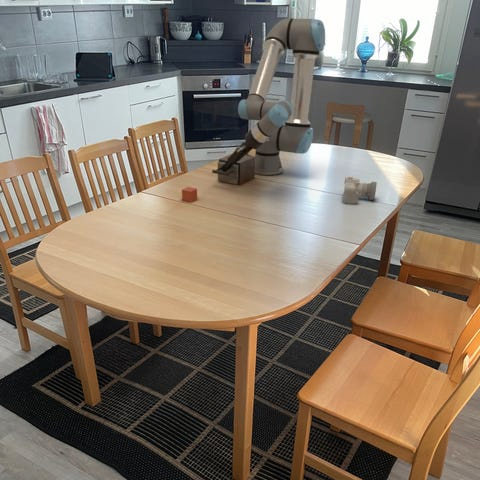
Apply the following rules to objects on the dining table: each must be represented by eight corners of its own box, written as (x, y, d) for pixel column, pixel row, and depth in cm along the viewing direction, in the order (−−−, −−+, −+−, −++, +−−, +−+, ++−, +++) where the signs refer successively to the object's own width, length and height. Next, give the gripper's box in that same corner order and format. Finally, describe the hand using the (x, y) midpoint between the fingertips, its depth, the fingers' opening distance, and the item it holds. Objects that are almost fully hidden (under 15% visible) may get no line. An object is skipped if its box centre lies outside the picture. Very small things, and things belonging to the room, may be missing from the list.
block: (182, 200, 204) (181, 189, 202) (188, 197, 207) (188, 186, 205) (190, 202, 202) (190, 191, 200) (197, 199, 206) (196, 188, 203)
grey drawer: (229, 187, 217) (229, 169, 212) (210, 183, 221) (209, 165, 216) (250, 177, 230) (251, 159, 226) (231, 173, 234) (232, 156, 230)
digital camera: (368, 215, 204) (372, 194, 197) (335, 208, 209) (338, 187, 201) (377, 195, 215) (381, 174, 208) (346, 189, 219) (349, 168, 212)
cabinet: (239, 185, 223) (240, 163, 217) (218, 180, 227) (218, 159, 222) (254, 178, 232) (255, 156, 227) (233, 174, 237) (234, 153, 232)
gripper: (254, 146, 198) (220, 180, 214) (270, 140, 207) (235, 173, 223) (243, 131, 197) (209, 166, 213) (259, 126, 207) (225, 160, 223)
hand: (222, 170), depth 218 cm, fingers closed
